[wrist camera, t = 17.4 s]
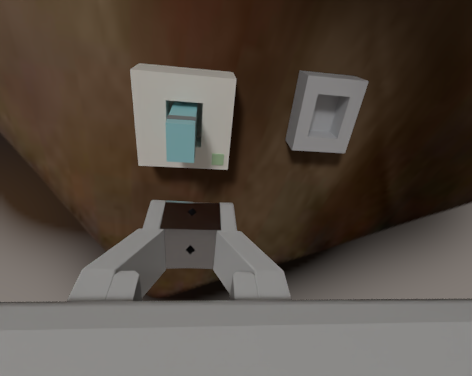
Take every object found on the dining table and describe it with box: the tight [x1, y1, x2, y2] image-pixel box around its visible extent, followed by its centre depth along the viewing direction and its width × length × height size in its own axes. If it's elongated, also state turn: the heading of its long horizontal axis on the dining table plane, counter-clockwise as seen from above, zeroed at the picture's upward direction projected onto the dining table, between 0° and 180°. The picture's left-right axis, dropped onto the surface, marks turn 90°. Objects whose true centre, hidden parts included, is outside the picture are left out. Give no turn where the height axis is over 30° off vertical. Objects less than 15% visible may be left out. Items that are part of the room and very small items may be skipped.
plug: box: [166, 101, 198, 163], centre depth 34 cm, size 4×3×10 cm
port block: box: [130, 63, 236, 170], centre depth 37 cm, size 12×12×5 cm
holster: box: [286, 71, 369, 153], centre depth 39 cm, size 10×8×4 cm
